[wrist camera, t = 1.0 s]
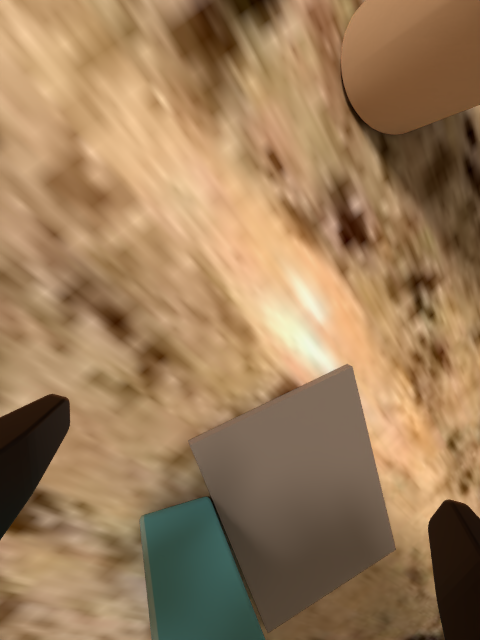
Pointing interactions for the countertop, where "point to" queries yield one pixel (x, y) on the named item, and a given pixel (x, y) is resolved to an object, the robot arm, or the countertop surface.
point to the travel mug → (412, 61)
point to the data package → (193, 577)
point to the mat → (298, 494)
